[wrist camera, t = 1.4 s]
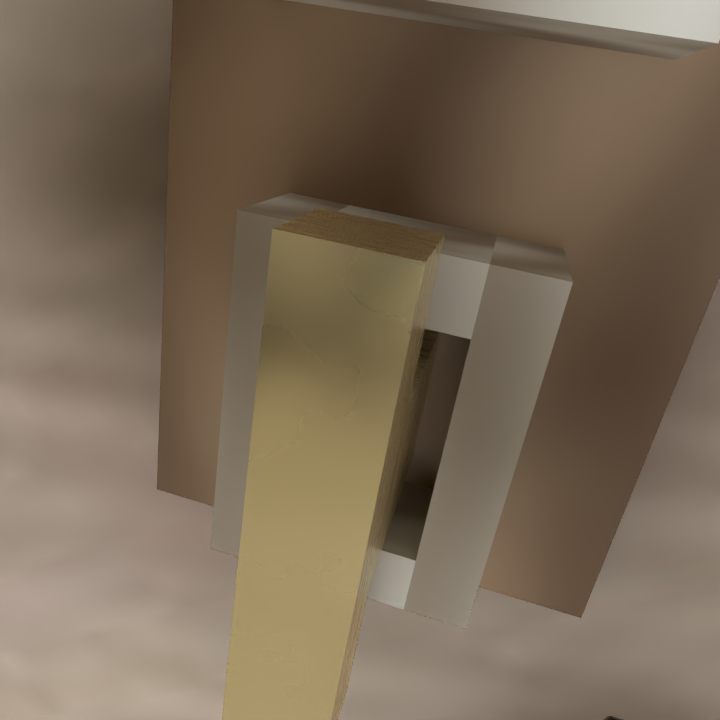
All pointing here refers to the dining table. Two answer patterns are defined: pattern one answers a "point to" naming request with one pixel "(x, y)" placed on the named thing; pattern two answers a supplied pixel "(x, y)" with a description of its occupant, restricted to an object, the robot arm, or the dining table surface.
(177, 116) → the board
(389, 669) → the dining table surface
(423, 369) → the gold rectangular bar
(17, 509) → the dining table surface
